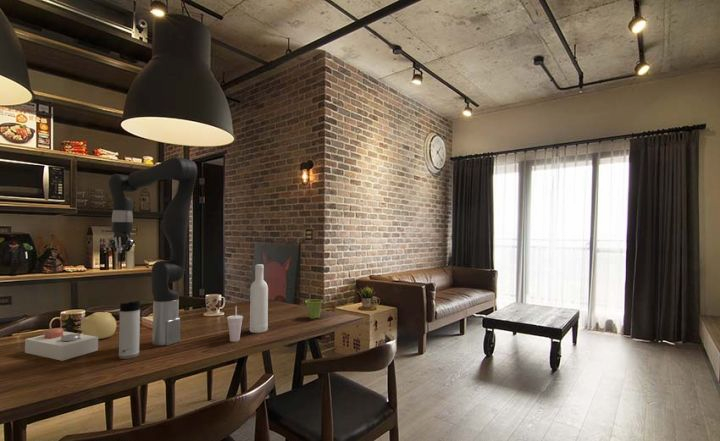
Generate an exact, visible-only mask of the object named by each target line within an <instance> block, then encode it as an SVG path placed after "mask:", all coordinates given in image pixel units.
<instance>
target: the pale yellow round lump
mask: <svg viewBox="0 0 720 441" xmlns="http://www.w3.org/2000/svg"><path fill="white" fill-rule="evenodd" d="M80 324H81V325H80V330H81V331H82V333H83V335H89V336H95V337H98V340H102V339H107V338H109V337H111V336H113V335H114V333H115V332H116V329H117V320H116V318H115V317H114V316H113V315H112V313H110V312H108V311H104V312H103V311H98V312H96V311H95V312H94V313H92V314H90V315H88V316H86V317H84V318H82V319H81V320H80Z"/></svg>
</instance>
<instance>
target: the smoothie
mask: <svg viewBox="0 0 720 441" xmlns="http://www.w3.org/2000/svg"><path fill="white" fill-rule="evenodd" d="M234 311H235V315H229V316H227V317H226V320H227V325H228V335H229V341H230V342H239V341H240V338H241V331H242V323H243V320H244V316H243V315H241V314H238V306H237V305H235V310H234Z"/></svg>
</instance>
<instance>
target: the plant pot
mask: <svg viewBox="0 0 720 441" xmlns="http://www.w3.org/2000/svg"><path fill="white" fill-rule="evenodd" d="M304 302H305V304H306V311H307V318H308V319H313V320H314V319H316V318H317V319H320V317H321V311H322V305H323V302H324V299H314V298H313V299H306V300H305V301H304Z"/></svg>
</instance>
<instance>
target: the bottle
mask: <svg viewBox="0 0 720 441" xmlns="http://www.w3.org/2000/svg"><path fill="white" fill-rule="evenodd" d="M254 269H255V270H254V271H255V278H254V281H253V282H251V285H250V292H249V294H250V295H249V296H250V299H249V302H250V303H249V304H250V305H249V306H250V307H249V308H250V310H249V332H250V333H254V334H259V333H260V334H261V333H265V332H267V331H268V326H269V323H268V318H269V316H268V312H269V306H268V305H269V304H268V303H269V286H268V284H267V282H266V281H265V280H264V269H265V265H264V264H258V263H257V264H255V266H254Z"/></svg>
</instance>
